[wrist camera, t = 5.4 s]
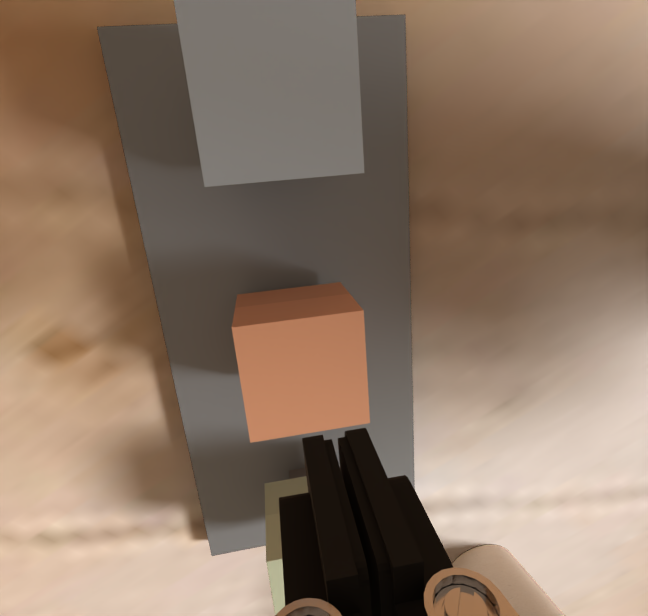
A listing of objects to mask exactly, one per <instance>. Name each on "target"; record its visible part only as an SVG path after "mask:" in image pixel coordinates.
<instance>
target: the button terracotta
mask: <svg viewBox="0 0 648 616" xmlns="http://www.w3.org/2000/svg"><path fill="white" fill-rule="evenodd" d="M232 333H233V339H234V345H235V351H236V358H237V364H238V370H239V376H240V382H241V388H242V395H243V401H244V407H245V413H246V419H247V425H248V432H249V438H250V443H252V442H258V441H264V440H270V439H276V438H282V437H288V436H295V435H301V434H307V433H313V432H319V431H325V430H331V429H337V428H343V427H349V426H355V425H361V424H367V423H370V413H369V396H368V378H367V360H366V343H365V325H364V310H363V309H362V308H361V307H360V305H359V304H358V303H357V302H356V301H355V299H354V298H353V297H352V296H351V295H350V293H349V292H348V291H347V290H346V289H345V287H344V286H343V285H342V284H341V282H337V283H329V284H320V285H312V286H304V287H295V288H287V289H279V290H270V291H262V292H254V293H245V294H237V299H236V305H235V311H234V317H233V323H232Z"/></svg>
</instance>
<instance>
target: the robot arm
mask: <svg viewBox="0 0 648 616" xmlns="http://www.w3.org/2000/svg"><path fill="white" fill-rule="evenodd" d="M302 443H303V452H304V461H305V469H306V477H307V486H308V493H302V494H296V495H291V496H285V497H280V498H279V513H280V530H281V546H282V563H283V579H284V595H285V607H283V608H282V609H281V610H280V611H279V612H278V613H277V614H276V615H275V616H519V615H518V613H517V612H516V611H515V609H514V608H513V607H512V606H511V604H510V603H509V602H508V600H507V599H506V598H505V596H504V595H503V594H502V592H501V591H500V590H499V589H498V588H497V587H496V586H495V585H494V584H493V583H492V582H491V581H490V580H489V579H487V578H486V577H484V576H483V575H481V574H480V573H478V572H475V571H472V570H469V569H466V568H456V567H453V565H452V563H451V561H450V559H449V557H448V555H447V553H446V551H445V549H444V547H443V545H442V543H441V541H440V539H439V537H438V535H437V533H436V531H435V529H434V527H433V526H432V524H431V522H430V520H429V518H428V516H427V514H426V512H425V510H424V508H423V506H422V504H421V502H420V500H419V498H418V496H417V494H416V492H415V490H414V488H413V486H412V484H411V482H410V480H409V478H408V477H407V476H406V475H403V476H397V477H391V478H388V477H387V475H386V473H385V470H384V468H383V466H382V463H381V461H380V459H379V457H378V454H377V452H376V450H375V447H374V445H373V443H372V440H371V438H370V436H369V433H368V431H367V429H366V428H360V429H354V430H348V431H345V437H341V438H338V451H339V462H340V466H339V463H338V459H337V456H336V452H335V449H334V445H333V442H332V439H329V440H324V437H323V435H317V436H311V437H305V438H302Z"/></svg>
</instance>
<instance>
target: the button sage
mask: <svg viewBox="0 0 648 616" xmlns="http://www.w3.org/2000/svg"><path fill="white" fill-rule="evenodd" d="M264 486H265V525H266V562H267V568H268V574H269V580H270V586H271V592H272V599H273V605H274V611H275V615H276V614H277V613H278V612H279V611H280V610H281V609H282V608H283V607H285V595H284V579H283V563H282V546H281V530H280V513H279V498H280V497H285V496H291V495H296V494H302V493H308V486H307V477H306V476H304V477H299V478H293V479H287V480H282V481H276V482H270V483H265V484H264Z"/></svg>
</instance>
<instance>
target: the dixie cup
mask: <svg viewBox="0 0 648 616" xmlns="http://www.w3.org/2000/svg"><path fill="white" fill-rule="evenodd" d="M452 565H453V567H456V568H466V569H469V570H472V571H475V572H478V573H480V574H481V575H483V576H484V577H486V578H487V579H489V580H490V581H491V582H492V583H493V584H494V585H495V586H496V587H497V588H498V589H499V590H500V591H501V592H502V594H503V595H504V596H505V598H506V599H507V600H508V602H509V603H510V604H511V606H512V607H513V608H514V609H515V611H516V612H517V613H518V615H519V616H565V614H564V613H563V612H562V611H561V610H560V609H559V608H558V606H557V605H556V604H555V603H554V602H553V601H552V600H551V598H550V597H549V596H548V595H547V594H546V593H545V591H544V590H543V589H542V588H541V587H540V586H539V585H538V583H537V582H536V581H535V580H534V579H533V578H532V577H531V575H530V574H529V573H528V572H527V571H526V570H525V568H524V567H523V566H522V565H521V564H520V563H519V562H518V560H517V559H516V558H515V557H514V556H513V555H512V553H511V552H510V551H509V550H507V549H506V548H504V547H502V546H498V545H482V546H478V547H475V548H473V549H470V550H468V551H467V552H464V553H463V554H462V555H460V556H459V557H458V558H457V559H456V560H455V561H454V562H453V563H452Z"/></svg>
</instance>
